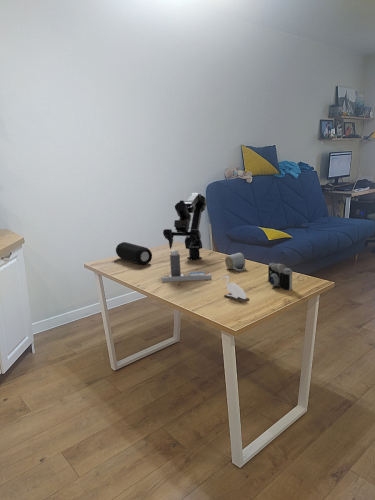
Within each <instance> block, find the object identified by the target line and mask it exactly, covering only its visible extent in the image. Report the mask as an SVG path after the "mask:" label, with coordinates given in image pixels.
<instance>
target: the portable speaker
mask: <svg viewBox="0 0 375 500" xmlns="http://www.w3.org/2000/svg"><path fill="white" fill-rule="evenodd" d="M115 254H116V255H117V256H118V258H120V259H122V258H123V260H125V261H128V260H129V261H128V262H132V263H134V264H138V265H140V266H141V265H142V266H143V265H144V264H145V265H147V264H149V263H151V261H152V259H153V253H152V251H151V250H150V249H149V248H148V247H146V246H142V245H138V244H134V243H130V242H126V241H122V242H120V243H119V244H117V246H116V247H115Z"/></svg>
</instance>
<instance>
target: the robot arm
mask: <svg viewBox="0 0 375 500" xmlns="http://www.w3.org/2000/svg"><path fill="white" fill-rule="evenodd" d="M207 201H208V200H207V199H206V197H205V195H202V194H201V193H199V192H191V194H190V196H189V197H188V199H187V200H179V202H177V203H176V204H175V205H174V209H175V212H176V214H177V216H178V219H176V220H174V222H173V223H174V224H173V226H174V228H175V231H173V230H172V228H171V229H170V228H164V229H163V230H162V231H163V232H162V234H163V236H164V238H165V239H166V240H167V241H168V245H169V249H170V250H171V249H172V248H173V242H174V237H180V236H181V237H185V239H184V246H185V249H186V250H188V255H189V256H188V257H187V259H188V260H190V261H196V260H201V259H203V257H202V256H200V255H201V254H200V249H203V242H202V240H201V239H202V234H201V231H200V225H201V218H202V214H203V212H204V211H205V209H206V206H207V205H208V204H207V203H208V202H207ZM191 214H193V215H191ZM190 222H191V223H190ZM190 224H191V225H190ZM189 230H190V231H189Z"/></svg>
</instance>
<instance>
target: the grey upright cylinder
mask: <svg viewBox="0 0 375 500" xmlns="http://www.w3.org/2000/svg"><path fill="white" fill-rule="evenodd" d="M180 255H181V254H179V250H177V249H172V250H170V254H169V258H170V259H169V261H170V275H171V277H175V276H181V274H182V272H181V259H180V257H181V256H180Z"/></svg>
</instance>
